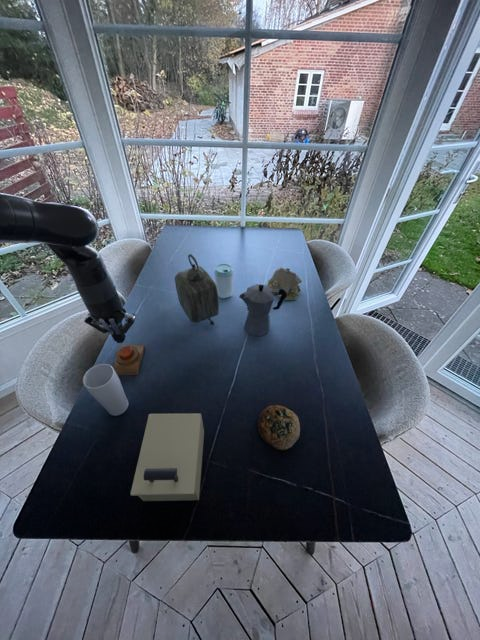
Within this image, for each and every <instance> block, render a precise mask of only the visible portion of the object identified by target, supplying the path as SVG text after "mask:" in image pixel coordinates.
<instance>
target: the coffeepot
mask: <svg viewBox="0 0 480 640" xmlns="http://www.w3.org/2000/svg"><path fill="white" fill-rule="evenodd" d="M278 295H281V297H279V299H278V301H277V302H276V303H277V304H276V306H273V303H274V300H275V296H278ZM286 296H287V292H286V291H285V290H284V289H273V290H272V289H271V288H270V287H269V286H268V284H267V285H266V284H265V285H264V284H259V283H256V284H254V285H251V286H248V287H247V288H246V291H244V292H242V293H240V294H239V296H238V297H239V299H241V300H242V301H243V302H244V303H245V305H246V309H247V315H246V319H245V323H244V326H243V329H244V330H245V331H246V333H247V334H249V336H250V335H251V336H254V337H262V336H265V335H266V334H268V333H269V332H270V327H271V321H270V320H271V319H270V311H271V309H272V310H274V311H277V310H279V309H280V308H281V306H282V305H283V303H284V302H285V301H286V300H285V298H286ZM272 306H273V307H272Z"/></svg>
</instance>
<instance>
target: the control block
mask: <svg viewBox="0 0 480 640" xmlns="http://www.w3.org/2000/svg"><path fill="white" fill-rule="evenodd" d="M123 347H131V348H132V350H133V353H134V354H133V356H132V357H131V358H130V359H127V360H124V359H122V358H121V356H120V354H119V351H120V350H121V349H122V348H123ZM145 351H146V346H145V344H121V346H120V348H119V349H118V350H117V351H116V353H115V355H114V359H115V362H114V364H113V366H112V367H113V369H114V370H115V372H116V373H117V375H118V376H138V375H139V371H140V367H141V365H142V361H143V358H144V355H145Z"/></svg>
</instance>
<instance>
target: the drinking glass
mask: <svg viewBox="0 0 480 640" xmlns="http://www.w3.org/2000/svg"><path fill="white" fill-rule="evenodd" d="M113 367H114V366H112V365H111V364H108V363H99V364H95V365H93V366H92V367H90V368H89V369H88V370H87V371H86V372H85V373H84V375H83V377H82V384H83V386H84V387H85V390H86V391H87V392H88V393H89V394H90V396H91V397H92V398H93V399H95V401H96V402H97V403H98V404H100V406H102V408H104V409H105V410H106V412H107V413H108V414H109V415H110V416H114V417H117V416H121V415H122V414H124V413H125V412H126V411H127V410H128V408H129V405H130V404H129V399H128V398H127V396H126V393H125V390H124V388H123V385H122V382H121V379H120V378H119V377H120V376H119V375H117V373H116V372H115V370H114V369H113Z"/></svg>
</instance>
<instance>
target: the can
mask: <svg viewBox="0 0 480 640" xmlns="http://www.w3.org/2000/svg"><path fill="white" fill-rule="evenodd" d="M213 278H214V279H213V281H214V283H215V285H216V288H217V293H218V298H220V299H228V298H230V297H232V296H233V294H234V270H233V269H232V266H231V265H230V264H227V263H219V264H217V265H216V266H215V268H214V270H213Z"/></svg>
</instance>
